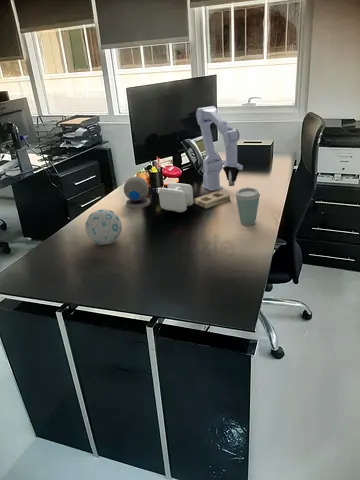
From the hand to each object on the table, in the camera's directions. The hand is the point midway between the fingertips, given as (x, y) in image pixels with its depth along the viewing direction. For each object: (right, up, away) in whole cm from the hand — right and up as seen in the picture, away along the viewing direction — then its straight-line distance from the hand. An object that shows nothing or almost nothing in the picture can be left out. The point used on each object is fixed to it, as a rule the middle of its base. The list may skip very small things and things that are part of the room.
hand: (231, 180), depth 187 cm
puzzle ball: (-59, -32, -31) cm, 74 cm away
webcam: (-49, -12, +7) cm, 51 cm away
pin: (0, -2, +1) cm, 2 cm away
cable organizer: (-28, -15, -3) cm, 32 cm away
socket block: (-10, -11, +1) cm, 15 cm away
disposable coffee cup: (+4, -23, -24) cm, 34 cm away
